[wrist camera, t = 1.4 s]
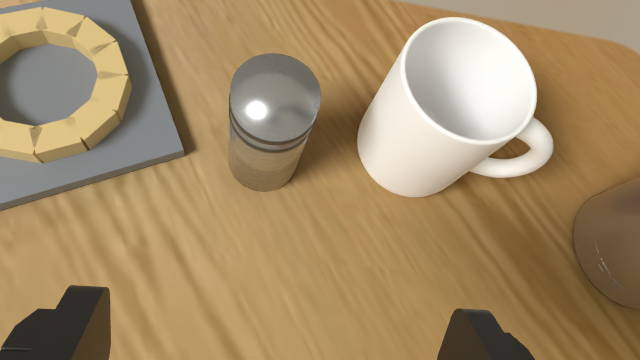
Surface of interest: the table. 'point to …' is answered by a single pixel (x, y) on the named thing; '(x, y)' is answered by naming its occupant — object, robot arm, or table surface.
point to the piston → (270, 119)
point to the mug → (452, 111)
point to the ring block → (77, 98)
